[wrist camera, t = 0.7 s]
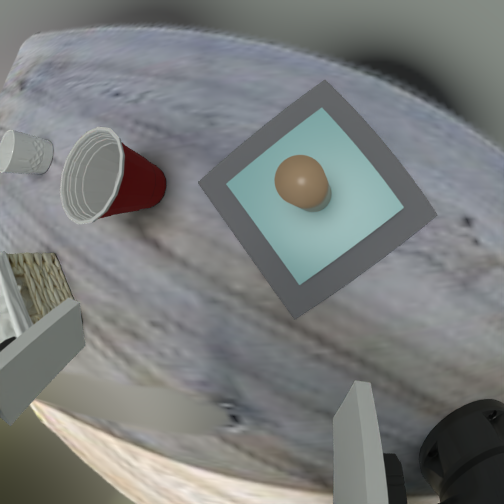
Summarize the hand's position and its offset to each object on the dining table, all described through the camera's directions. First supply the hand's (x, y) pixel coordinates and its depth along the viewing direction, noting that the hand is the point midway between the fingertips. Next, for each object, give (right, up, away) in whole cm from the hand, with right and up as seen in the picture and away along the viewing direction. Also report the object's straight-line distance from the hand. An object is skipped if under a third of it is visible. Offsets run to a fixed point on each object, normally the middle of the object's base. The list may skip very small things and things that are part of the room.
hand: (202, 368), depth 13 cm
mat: (+9, +11, +20) cm, 25 cm away
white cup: (-38, +24, +35) cm, 57 cm away
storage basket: (-38, -6, +37) cm, 54 cm away
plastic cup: (-12, +14, +27) cm, 33 cm away
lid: (+9, +11, +20) cm, 24 cm away
